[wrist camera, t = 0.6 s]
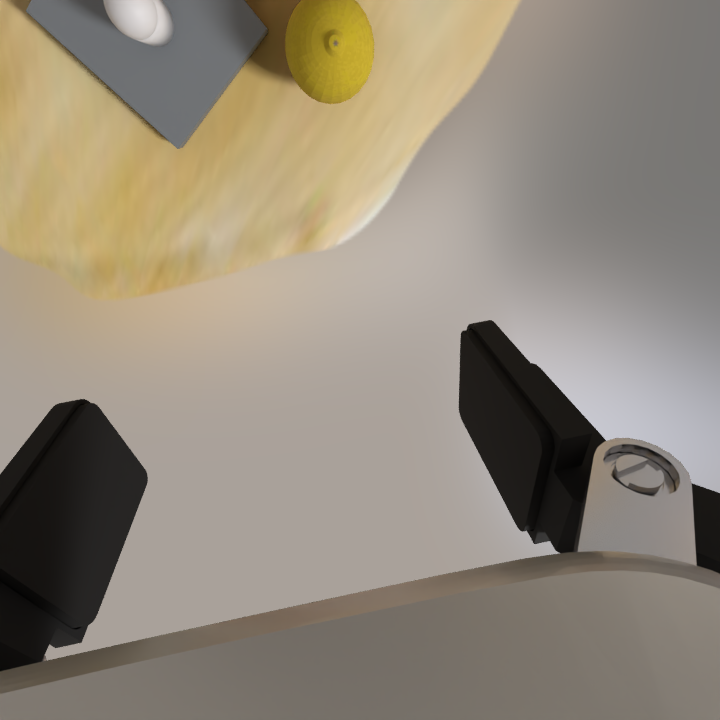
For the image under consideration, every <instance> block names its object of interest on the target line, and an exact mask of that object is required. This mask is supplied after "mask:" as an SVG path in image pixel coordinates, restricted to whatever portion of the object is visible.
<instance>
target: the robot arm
mask: <svg viewBox="0 0 720 720" xmlns="http://www.w3.org/2000/svg"><path fill="white" fill-rule="evenodd" d="M460 347H461V348H460V384H459V412H460V416H461V419H462V421H463V423H464V425H465V427H466V429H467V431H468V433H469V435H470V437H471V438H472V441H473V442H474V444H475V446H476V448H477V450H478V452H479V454H480V456H481V458H482V460H483V462H484V464H485V466H486V467H487V469H488V471H489V473H490V475H491V477H492V479H493V481H494V483H495V485H496V487H497V489H498V491H499V493H500V494H501V496H502V498H503V500H504V502H505V504H506V506H507V508H508V510H509V512H510V514H511V516H512V518H513V520H514V522H515V523H516V525H517V527H518V528H519V530H520V531H527V532H528V533H529V535H530V537H531V538H532V541H533V543H534V544H537V543H542V542H547V541H551V543H552V545H553V547H554V548H555V550H556V551H557V552H559V553H560V554H553V555H546V556H540V557H532V558H525V559H520V560H515V561H510V562H504V563H499V564H494V565H489V566H484V567H479V568H474V569H468V570H463V571H459V572H453V573H448V574H443V575H438V576H433V577H429V578H424V579H419V580H415V581H410V582H405V583H401V584H396V585H391V586H386V587H382V588H377V589H372V590H368V591H363V592H358V593H353V594H349V595H344V596H340V597H335V598H330V599H325V600H321V601H316V602H311V603H307V604H302V605H298V606H293V607H288V608H284V609H279V610H275V611H270V612H266V613H261V614H257V615H251V616H247V617H242V618H238V619H233V620H229V621H224V622H219V623H215V624H210V625H206V626H201V627H196V628H192V629H188V630H183V631H178V632H174V633H169V634H165V635H160V636H155V637H151V638H146V639H142V640H138V641H133V642H129V643H124V644H120V645H115V646H111V647H106V648H102V649H97V650H93V651H88V652H84V653H80V654H75V655H70V656H66V657H62V658H57V659H53V660H48V661H47V660H46V657H45V652H46V650H47V648H48V646H49V644H50V645H52V646H53V647H55V648H58V647H63V646H68V645H72V644H76V643H81V642H82V639H83V637H84V635H85V632H86V630H87V627H88V625H89V624H91V623H92V622H93V621H94V619H95V618H96V616H97V614H98V611H99V608H100V606H101V603H102V600H103V598H104V595H105V592H106V590H107V587H108V585H109V582H110V580H111V577H112V574H113V572H114V569H115V566H116V564H117V561H118V559H119V556H120V553H121V551H122V548H123V546H124V543H125V540H126V538H127V535H128V532H129V530H130V527H131V524H132V522H133V519H134V517H135V514H136V511H137V509H138V506H139V504H140V501H141V498H142V496H143V493H144V491H145V488H146V485H147V481H148V480H147V479H148V477H147V473H146V470H145V469H144V467H143V466H142V465H141V463H140V462H139V461H138V459H137V458H136V457H135V456H134V454H133V453H132V451H131V450H130V449H129V447H128V446H127V445H126V443H125V442H124V440H123V439H122V438H121V436H120V435H119V434H118V432H117V431H116V430H115V428H114V427H113V426H112V424H111V423H110V422H109V420H108V419H107V418H106V416H105V415H104V414H103V412H102V411H101V409H100V408H99V407H98V406H97V405H96V404H94V403H90V402H89V401H87V400H85V399H80V400H75V401H69V402H65V403H59V404H57V405H55V406H54V407H53V408H52V409H51V410H50V411H49V413H48V414H47V415H46V416H45V418H44V419H43V420H42V422H41V423H40V424H39V425H38V427H37V428H36V429H35V431H34V432H33V433H32V434H31V436H30V437H29V438H28V440H27V441H26V442H25V444H24V445H23V446H22V447H21V448H20V450H19V451H18V452H17V454H16V455H15V456H14V457H13V459H12V460H11V461H10V463H9V464H8V465H7V466H6V468H5V469H4V470H3V472H2V473H1V474H0V720H720V493H718V492H715V491H712V490H709V489H706V488H703V487H700V486H697V485H695V484H692V483H691V479H690V476H689V473H688V472H687V470H686V469H685V468H684V466H683V465H682V464H681V462H679V461H678V460H677V459H676V458H675V457H674V456H672V455H671V454H670V453H668V452H666V451H665V450H663V449H661V448H659V447H658V446H656V445H653V444H650V443H647V442H645V441H642V440H635V439H630V438H615V439H612V440H608V441H606V440H605V439H604V438H603V437H602V436H601V434H600V433H599V432H598V431H597V430H596V429H595V428H594V427H593V426H592V425H591V423H590V422H589V421H588V420H587V419H586V418H585V417H584V416H583V415H582V414H581V412H580V411H579V410H578V409H577V408H576V407H575V406H574V405H573V404H572V402H571V401H569V399H568V398H567V397H566V396H565V395H564V394H563V393H562V392H561V390H560V389H559V388H558V387H557V386H556V385H555V384H554V383H553V382H552V381H551V379H550V378H549V377H548V376H547V375H546V374H545V373H544V372H543V371H542V370H541V368H539V367H538V366H537V365H536V364H532V363H530V362H529V361H528V360H527V359H526V358H525V357H524V355H523V354H522V353H521V352H520V351H519V350H518V349H517V347H516V346H515V345H514V344H513V343H512V342H511V341H510V340H509V338H508V337H507V336H506V335H505V334H504V333H503V332H502V331H501V329H500V328H499V327H498V326H497V325H496V324H495V323H494V322H493V321H492V320H488V321H483V322H478V323H473V324H469V325H468V327H467V330H466V331H462V333H461V346H460Z"/></svg>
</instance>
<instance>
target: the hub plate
mask: <svg viewBox="0 0 720 720" xmlns="http://www.w3.org/2000/svg"><path fill="white" fill-rule="evenodd" d="M26 12H27V13H28V14H29V15H31V16H32V17H33V18H34V19H35V20H36V21H37V22H38V23H39V24H40V25H42V26H43V27H44V28H45V29H46V30H47V31H48V32H49V33H50V34H52V35H53V36H54V37H55V38H56V39H57V40H58V41H59V42H60V43H61V44H63V45H64V46H65V47H66V48H67V49H68V50H69V51H70V52H71V53H72V54H74V55H75V56H76V57H77V58H78V59H79V60H80V61H81V62H82V63H83V64H85V65H86V66H87V67H88V68H89V69H90V70H91V71H92V72H93V73H95V74H96V75H97V76H98V77H99V78H100V79H101V80H102V81H103V82H104V83H106V84H107V85H108V86H109V87H110V88H111V89H112V90H113V91H114V92H115V93H117V94H118V95H119V96H120V97H121V98H122V99H123V100H124V101H125V102H127V103H128V104H129V105H130V106H131V107H132V108H133V109H134V110H135V111H136V112H138V113H139V114H140V115H141V116H142V117H143V118H144V119H145V120H146V121H147V122H149V123H150V124H151V125H152V126H153V127H154V128H155V129H156V130H157V131H159V132H160V133H161V134H162V135H163V136H164V137H165V138H166V139H167V140H168V141H170V142H171V143H172V144H173V145H174V146H175V147H176V148H177V149H180V148H182V147H183V146H184V145H185V144H186V142H187V141H188V140H189V138H190V137H191V136H192V134H193V133H194V132H195V130H196V129H197V127H198V126H199V125H200V123H201V122H202V121H203V119H204V118H205V117H206V115H207V114H208V113H209V111H210V110H211V109H212V107H213V106H214V105H215V103H216V102H217V100H218V99H219V98H220V96H221V95H222V94H223V92H224V91H225V90H226V88H227V87H228V86H229V84H230V83H231V82H232V80H233V79H234V78H235V76H236V75H237V74H238V72H239V71H240V69H241V68H242V67H243V65H244V64H245V63H246V61H247V60H248V59H249V57H250V56H251V55H252V53H253V52H254V51H255V49H256V48H257V47H258V45H259V44H260V42H261V41H262V40H263V38H264V37H265V36H266V34H267V33H268V30H267V28H266V26H265V25H264V24H263V23H262V22H261V20H260V19H259V18H258V17H257V15H256V14H255V13H254V12H253V10H252V9H251V8H250V7H249V5H248V4H247V3H246V2H245V0H31V2H30V4H29V6H28V8H27V10H26Z"/></svg>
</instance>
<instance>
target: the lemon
mask: <svg viewBox="0 0 720 720" xmlns="http://www.w3.org/2000/svg"><path fill="white" fill-rule="evenodd" d="M285 52H286V57H287V62H288V66H289V69H290V71H291V73H292V76H293V78H294V79H295V81H296V82H297V84H298V85H299V87H300V88H301V89H302V90H303V91H304V92H305V93H306V94H307V95H308V96H309V97H311V98H313V99H315V100H317V101H319V102H323V103H328V104H335V103H341V102H344V101H346V100H348V99H350V98H352V97H353V96H354V95H355V94H356V93H358V92H359V91H360V89H361V88H362V87H363V85H364V84H365V82H366V81H367V78H368V76H369V74H370V71H371V68H372V63H373V58H374V39H373V34H372V29H371V26H370V23H369V21H368V18H367V16H366V14H365V12H364V11H363V9H362V8H361V7H360V5H359V4H358V2H356V1H355V0H301V1H300V2H299V3H298V5H297V6H296V7H295V8H294V10H293V12H292V14H291V17H290V19H289V21H288V25H287V30H286V35H285Z"/></svg>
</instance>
